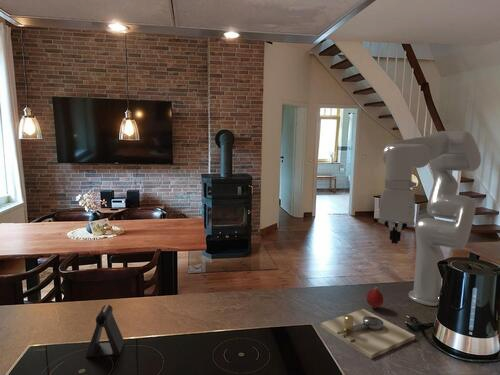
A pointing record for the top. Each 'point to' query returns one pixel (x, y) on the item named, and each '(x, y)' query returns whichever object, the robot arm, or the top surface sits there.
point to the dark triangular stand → (112, 333)
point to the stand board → (369, 334)
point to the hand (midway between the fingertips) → (394, 242)
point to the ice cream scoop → (368, 323)
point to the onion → (374, 298)
